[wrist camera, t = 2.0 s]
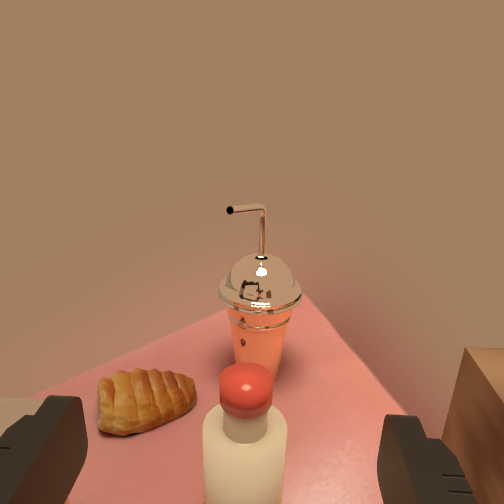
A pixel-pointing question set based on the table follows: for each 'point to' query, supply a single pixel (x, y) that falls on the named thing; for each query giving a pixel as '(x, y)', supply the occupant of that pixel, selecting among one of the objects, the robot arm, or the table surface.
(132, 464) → the table surface
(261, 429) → the sauce bottle
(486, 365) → the stand
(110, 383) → the pastry
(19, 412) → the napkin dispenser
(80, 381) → the table surface
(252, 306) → the cup with straw
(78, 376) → the table surface
